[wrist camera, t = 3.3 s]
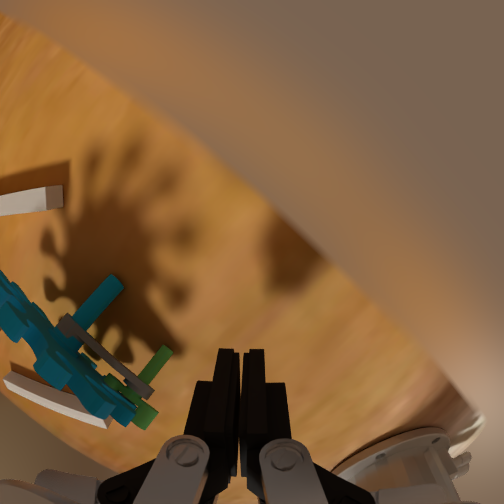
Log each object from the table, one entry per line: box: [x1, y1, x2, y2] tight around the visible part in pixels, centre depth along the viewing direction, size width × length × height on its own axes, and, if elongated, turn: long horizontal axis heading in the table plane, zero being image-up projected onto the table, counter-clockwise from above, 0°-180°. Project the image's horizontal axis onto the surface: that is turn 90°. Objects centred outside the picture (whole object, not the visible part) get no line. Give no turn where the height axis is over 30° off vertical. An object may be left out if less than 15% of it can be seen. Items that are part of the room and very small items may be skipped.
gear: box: [0, 270, 173, 430], centre depth 12 cm, size 11×6×10 cm
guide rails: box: [0, 185, 113, 429], centre depth 14 cm, size 12×16×2 cm
